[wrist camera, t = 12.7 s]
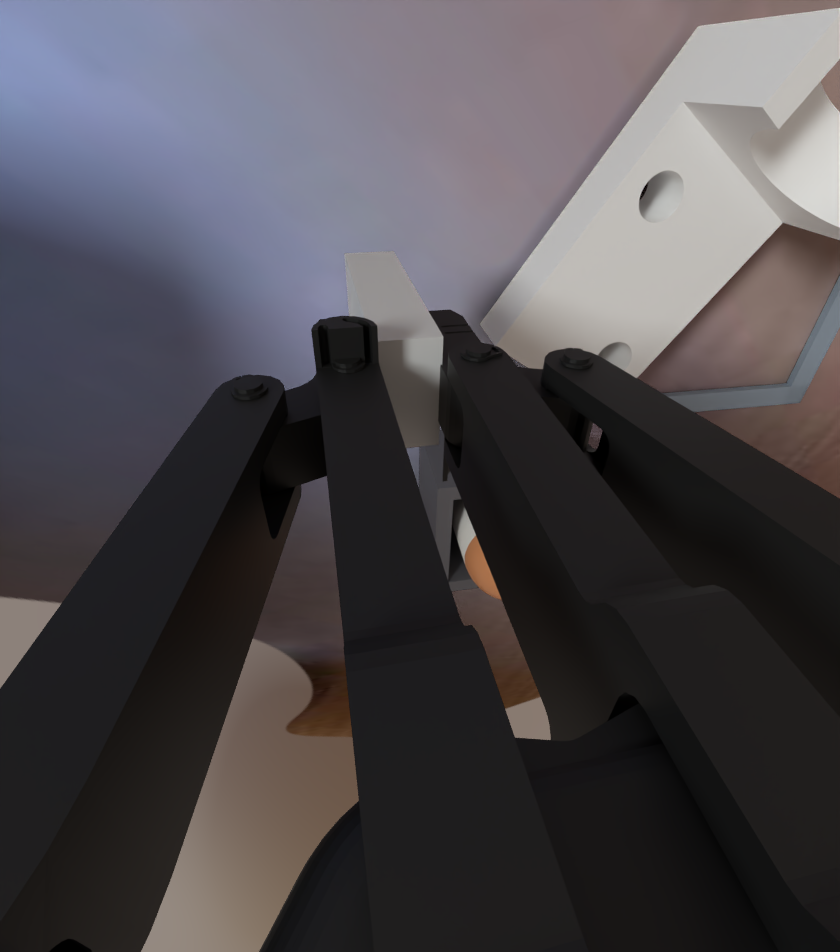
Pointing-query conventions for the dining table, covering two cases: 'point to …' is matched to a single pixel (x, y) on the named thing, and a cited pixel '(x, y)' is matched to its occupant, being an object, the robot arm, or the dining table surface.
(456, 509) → the orange and white capsule
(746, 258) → the bracket
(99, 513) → the dining table surface
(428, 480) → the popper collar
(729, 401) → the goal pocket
